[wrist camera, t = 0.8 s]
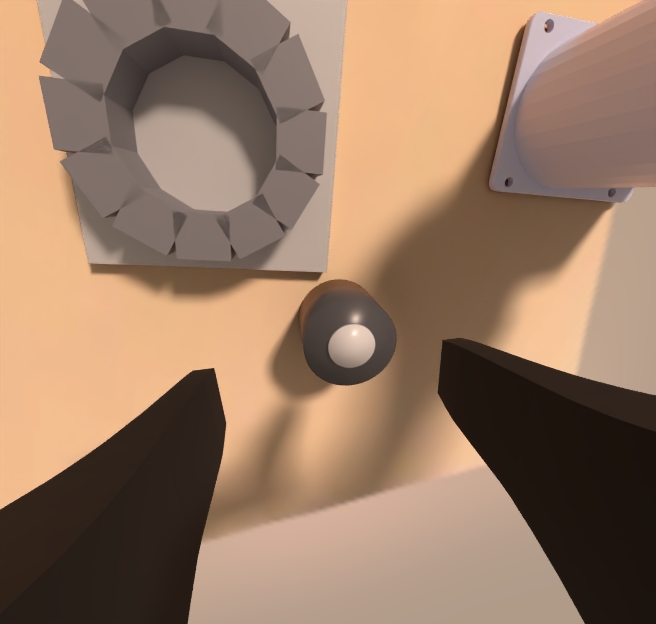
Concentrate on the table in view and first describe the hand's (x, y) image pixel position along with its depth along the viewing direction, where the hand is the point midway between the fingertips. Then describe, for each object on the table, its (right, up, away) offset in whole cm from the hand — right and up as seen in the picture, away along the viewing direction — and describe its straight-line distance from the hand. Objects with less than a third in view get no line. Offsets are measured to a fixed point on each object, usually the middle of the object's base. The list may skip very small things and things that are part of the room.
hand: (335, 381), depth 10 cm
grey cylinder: (0, +2, +10) cm, 10 cm away
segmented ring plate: (-6, +10, +5) cm, 13 cm away
